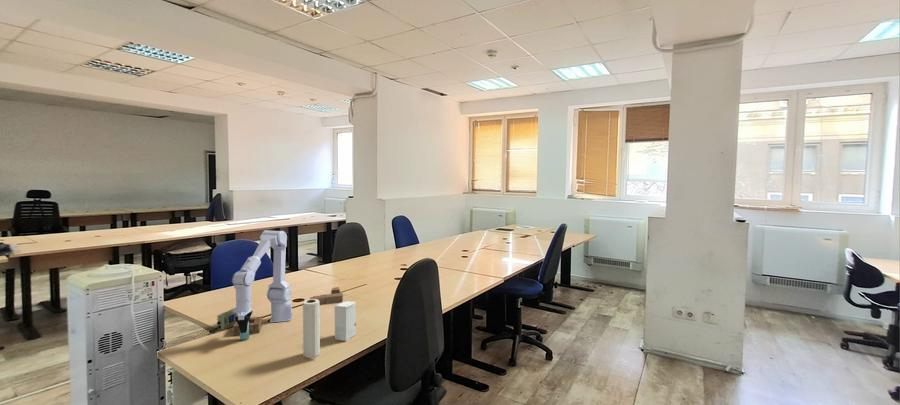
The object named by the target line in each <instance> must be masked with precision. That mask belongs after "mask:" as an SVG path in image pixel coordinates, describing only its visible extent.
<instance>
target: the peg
mask: <svg viewBox="0 0 900 405" xmlns="http://www.w3.org/2000/svg"><path fill="white" fill-rule="evenodd" d="M248 339H250V334H249V321H248V326H247V331H246V333H241V332H240V335H239V340H241V341H245V340H248Z"/></svg>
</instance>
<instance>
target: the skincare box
mask: <svg viewBox="0 0 900 405" xmlns="http://www.w3.org/2000/svg"><path fill="white" fill-rule="evenodd" d="M356 307H357V302H356V301H349V300H347V301H346V300H344V301H343V302H342V303H337V304H336V305H334V340H337V341H342V342H347V341H348V340H350V339H351V338H353V337H354V336H356V335H357V309H356Z"/></svg>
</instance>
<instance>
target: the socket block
mask: <svg viewBox="0 0 900 405" xmlns="http://www.w3.org/2000/svg"><path fill="white" fill-rule="evenodd" d="M262 326H263V316H255V317H250V321H249V335H254V334H260V332H261V330H262ZM233 336H234V337H235V336H240V329H239V326H238V323H237V322H236V323H234V324H233Z"/></svg>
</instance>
